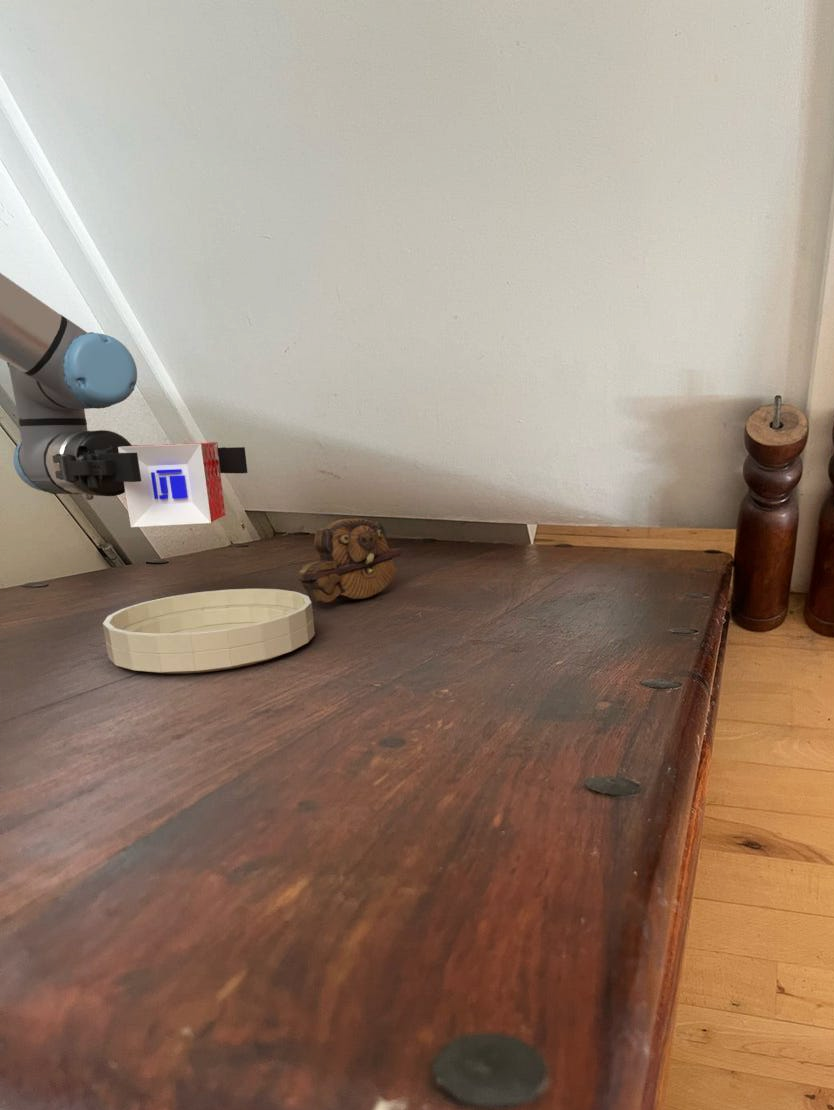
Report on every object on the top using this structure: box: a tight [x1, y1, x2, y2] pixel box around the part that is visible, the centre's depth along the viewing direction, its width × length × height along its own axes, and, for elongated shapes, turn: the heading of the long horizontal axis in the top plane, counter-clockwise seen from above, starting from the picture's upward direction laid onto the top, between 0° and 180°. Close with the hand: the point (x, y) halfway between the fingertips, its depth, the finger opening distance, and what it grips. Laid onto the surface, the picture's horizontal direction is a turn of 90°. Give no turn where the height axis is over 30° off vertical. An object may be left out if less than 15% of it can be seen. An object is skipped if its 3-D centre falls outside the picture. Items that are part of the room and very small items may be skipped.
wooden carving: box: [297, 518, 403, 604], centre depth 94 cm, size 16×5×10 cm, turn 150°
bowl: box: [102, 588, 316, 675], centre depth 76 cm, size 19×19×4 cm
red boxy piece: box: [118, 441, 227, 528], centre depth 81 cm, size 8×8×8 cm
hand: (192, 463), depth 78 cm, fingers closed on red boxy piece, 11 cm apart
